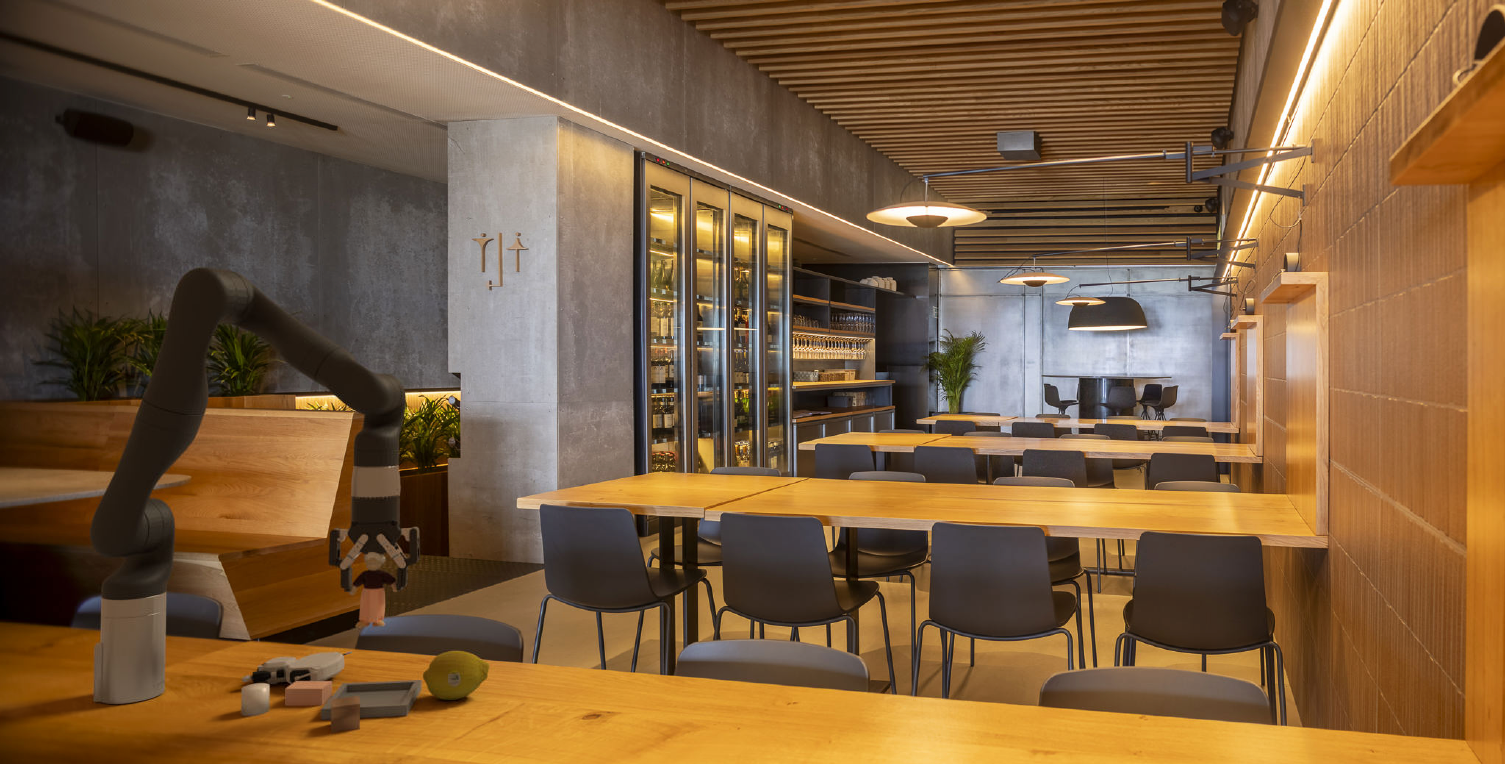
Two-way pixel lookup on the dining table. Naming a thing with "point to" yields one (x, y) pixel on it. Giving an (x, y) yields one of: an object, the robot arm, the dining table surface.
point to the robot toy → (299, 668)
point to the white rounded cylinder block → (255, 699)
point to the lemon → (455, 674)
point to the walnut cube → (345, 714)
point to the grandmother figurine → (373, 591)
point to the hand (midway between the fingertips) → (374, 590)
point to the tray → (378, 698)
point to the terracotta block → (308, 693)
